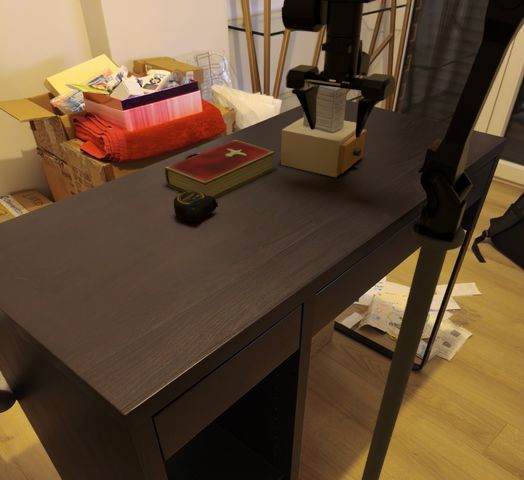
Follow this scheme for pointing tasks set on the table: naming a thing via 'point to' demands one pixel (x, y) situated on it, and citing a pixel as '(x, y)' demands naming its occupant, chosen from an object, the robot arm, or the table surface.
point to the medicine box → (329, 108)
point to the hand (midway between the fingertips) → (334, 133)
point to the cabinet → (314, 147)
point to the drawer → (351, 151)
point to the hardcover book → (220, 169)
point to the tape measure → (193, 205)
